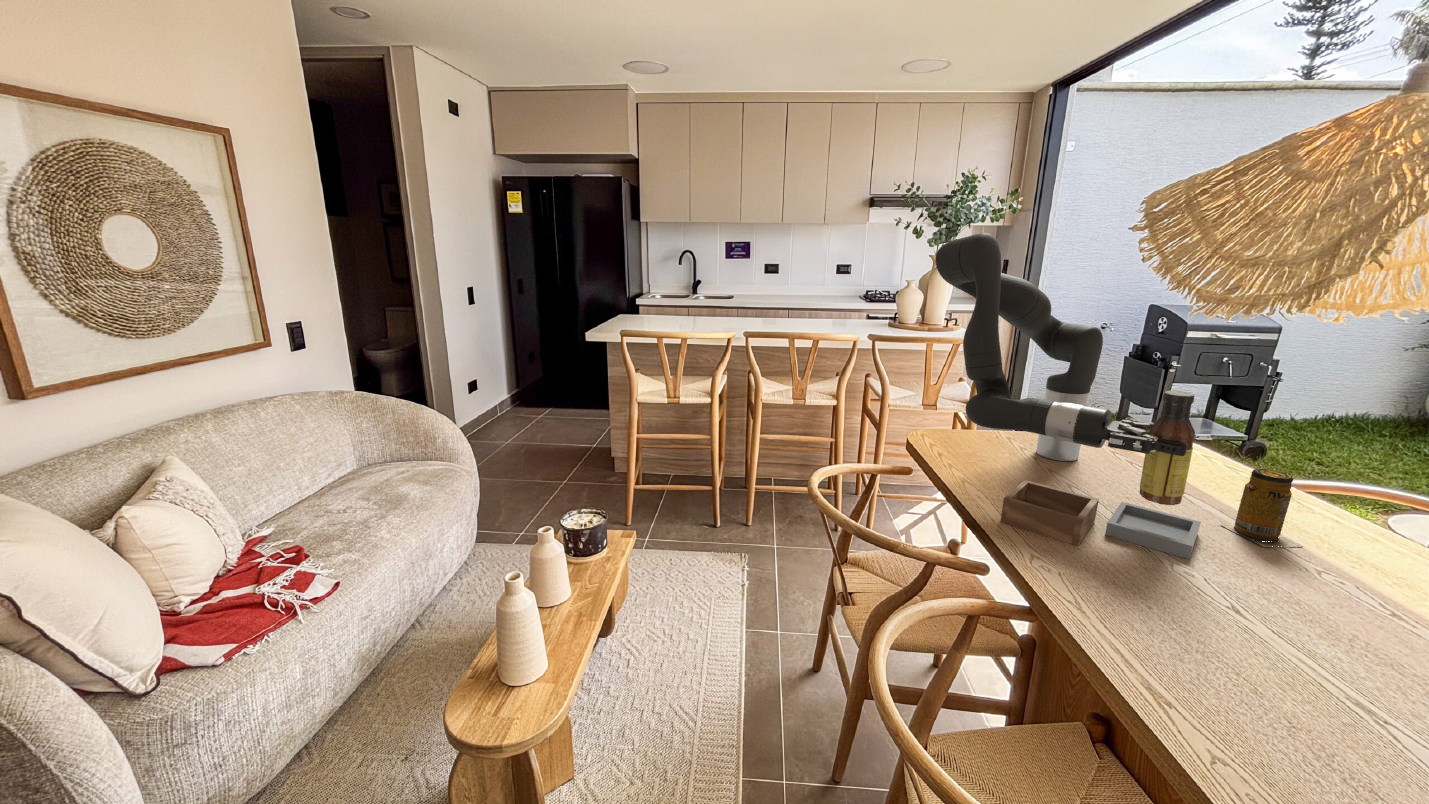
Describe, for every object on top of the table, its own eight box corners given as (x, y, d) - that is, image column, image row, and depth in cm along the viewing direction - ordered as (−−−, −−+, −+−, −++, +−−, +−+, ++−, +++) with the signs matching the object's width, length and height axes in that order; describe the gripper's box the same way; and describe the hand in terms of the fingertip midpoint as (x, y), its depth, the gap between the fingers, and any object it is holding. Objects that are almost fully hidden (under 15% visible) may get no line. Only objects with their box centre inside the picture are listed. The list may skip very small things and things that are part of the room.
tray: (1119, 513, 109) (1121, 501, 109) (1197, 534, 101) (1200, 521, 100) (1105, 534, 101) (1107, 522, 101) (1189, 559, 93) (1192, 546, 92)
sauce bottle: (1179, 497, 100) (1205, 391, 94) (1183, 510, 95) (1211, 400, 90) (1134, 488, 103) (1157, 386, 98) (1136, 500, 98) (1160, 394, 93)
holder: (1021, 501, 115) (1024, 479, 113) (1094, 522, 106) (1098, 499, 104) (1000, 521, 107) (1003, 498, 105) (1077, 546, 98) (1082, 520, 96)
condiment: (1256, 524, 104) (1272, 465, 101) (1303, 547, 96) (1323, 484, 93) (1218, 525, 104) (1234, 466, 101) (1263, 548, 96) (1281, 485, 93)
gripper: (1070, 412, 100) (1188, 434, 89) (1090, 398, 110) (1199, 415, 98) (1063, 451, 102) (1178, 477, 91) (1083, 433, 112) (1189, 454, 100)
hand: (1188, 445), depth 95 cm, fingers closed on sauce bottle, 6 cm apart
